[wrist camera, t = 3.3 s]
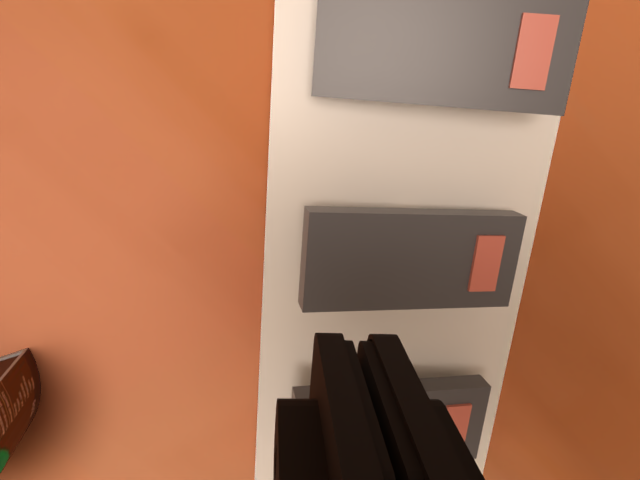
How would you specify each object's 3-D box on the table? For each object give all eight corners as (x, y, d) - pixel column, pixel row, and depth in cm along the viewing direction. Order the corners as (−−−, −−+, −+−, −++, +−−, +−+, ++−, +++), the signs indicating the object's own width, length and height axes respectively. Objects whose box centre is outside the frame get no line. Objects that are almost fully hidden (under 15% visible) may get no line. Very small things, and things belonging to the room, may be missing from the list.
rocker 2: (512, 210, 20) (529, 217, 19) (495, 296, 21) (510, 308, 20) (304, 205, 18) (310, 213, 17) (297, 301, 19) (303, 314, 18)
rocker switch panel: (569, -110, 20) (634, -155, 16) (455, 469, 29) (481, 525, 25) (282, -146, 19) (283, -204, 15) (256, 468, 28) (252, 527, 24)
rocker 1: (577, -3, 17) (593, -10, 16) (552, 115, 18) (565, 116, 17) (321, -21, 17) (319, -29, 16) (313, 95, 18) (310, 96, 17)
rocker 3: (479, 374, 23) (493, 388, 22) (465, 444, 24) (477, 461, 23) (292, 386, 21) (296, 403, 20) (287, 462, 22) (291, 481, 21)
